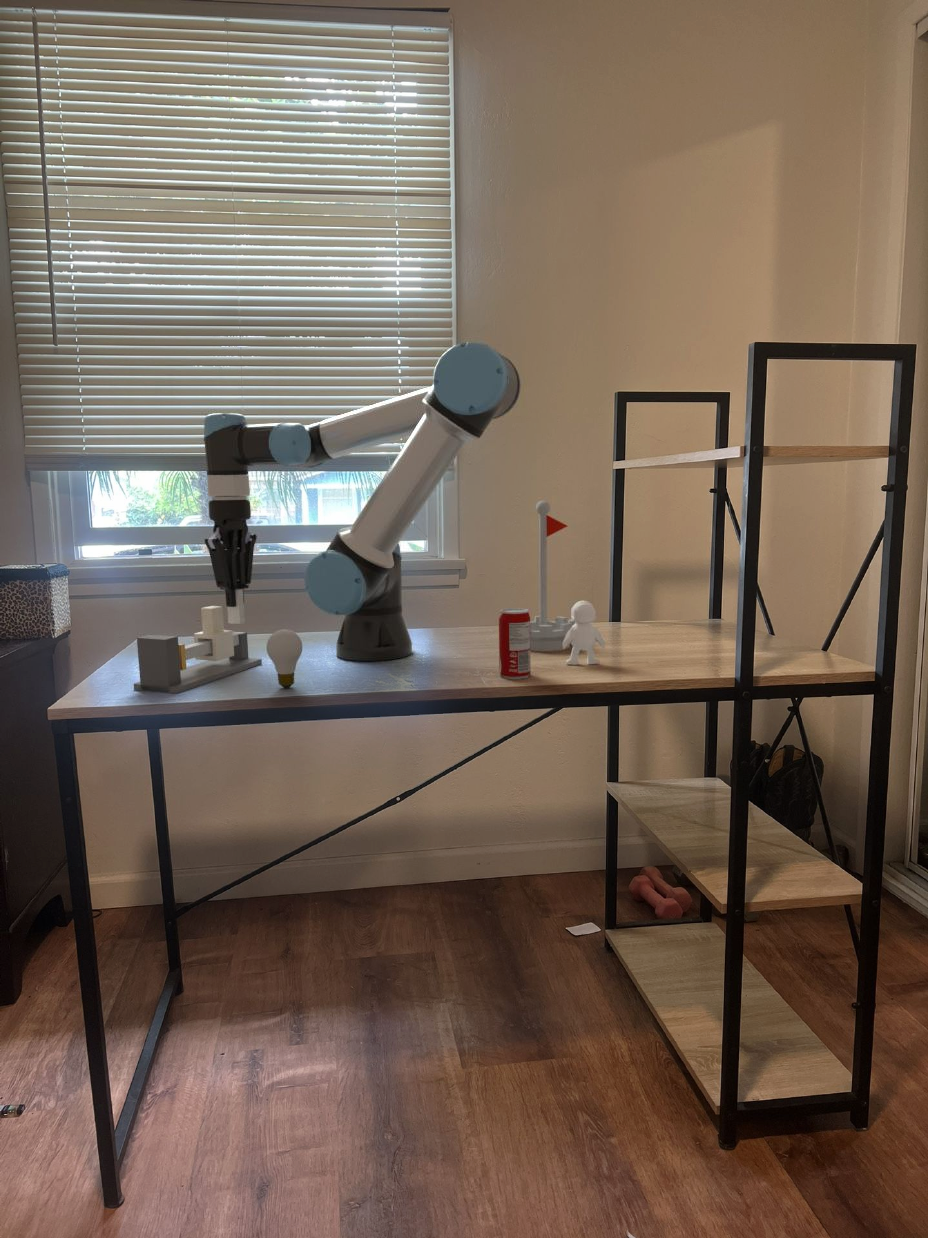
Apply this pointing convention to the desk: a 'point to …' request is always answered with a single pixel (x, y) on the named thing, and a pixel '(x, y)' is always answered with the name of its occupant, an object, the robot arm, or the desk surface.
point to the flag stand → (541, 630)
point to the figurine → (583, 633)
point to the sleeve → (215, 634)
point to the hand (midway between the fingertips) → (236, 623)
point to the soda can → (514, 643)
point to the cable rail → (168, 663)
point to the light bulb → (284, 654)
